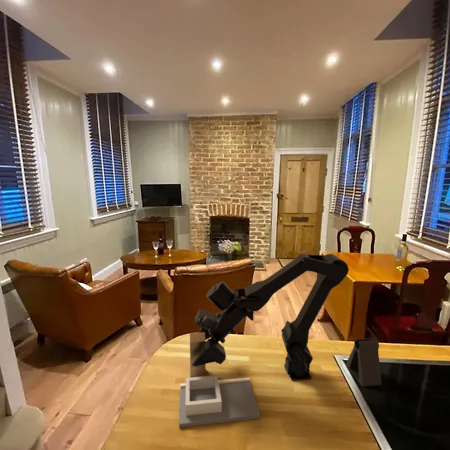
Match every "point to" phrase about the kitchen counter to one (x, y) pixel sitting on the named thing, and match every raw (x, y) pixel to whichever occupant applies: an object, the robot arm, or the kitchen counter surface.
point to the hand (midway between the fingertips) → (193, 354)
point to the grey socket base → (216, 401)
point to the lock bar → (196, 353)
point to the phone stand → (365, 362)
